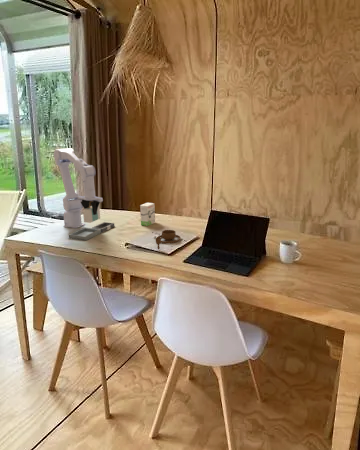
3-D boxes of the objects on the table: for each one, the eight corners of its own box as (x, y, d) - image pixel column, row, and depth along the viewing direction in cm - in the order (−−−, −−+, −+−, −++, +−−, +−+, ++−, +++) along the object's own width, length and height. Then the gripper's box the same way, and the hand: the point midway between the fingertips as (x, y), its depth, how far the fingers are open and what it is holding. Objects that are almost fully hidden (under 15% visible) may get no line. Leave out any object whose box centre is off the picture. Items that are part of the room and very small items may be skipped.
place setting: (189, 242, 183) (189, 230, 181) (159, 252, 170) (158, 240, 168) (166, 234, 195) (166, 224, 194) (136, 243, 182) (135, 232, 181)
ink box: (148, 226, 209) (147, 206, 206) (140, 225, 211) (139, 205, 208) (155, 222, 217) (154, 202, 213) (148, 221, 219) (147, 202, 215)
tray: (69, 238, 191) (68, 234, 190) (85, 230, 202) (84, 227, 202) (85, 240, 186) (85, 236, 186) (101, 232, 198) (101, 229, 198)
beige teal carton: (84, 222, 194) (82, 209, 192) (94, 217, 202) (92, 205, 200) (90, 222, 193) (89, 209, 190) (100, 218, 200) (99, 205, 198)
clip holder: (91, 231, 202) (91, 227, 201) (104, 225, 212) (103, 222, 212) (103, 232, 199) (102, 228, 199) (114, 226, 210) (114, 223, 209)
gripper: (73, 189, 191) (75, 214, 195) (96, 191, 186) (98, 217, 190) (81, 187, 198) (83, 211, 201) (104, 188, 192) (106, 213, 196)
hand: (91, 214), depth 196 cm, fingers closed on beige teal carton, 4 cm apart
